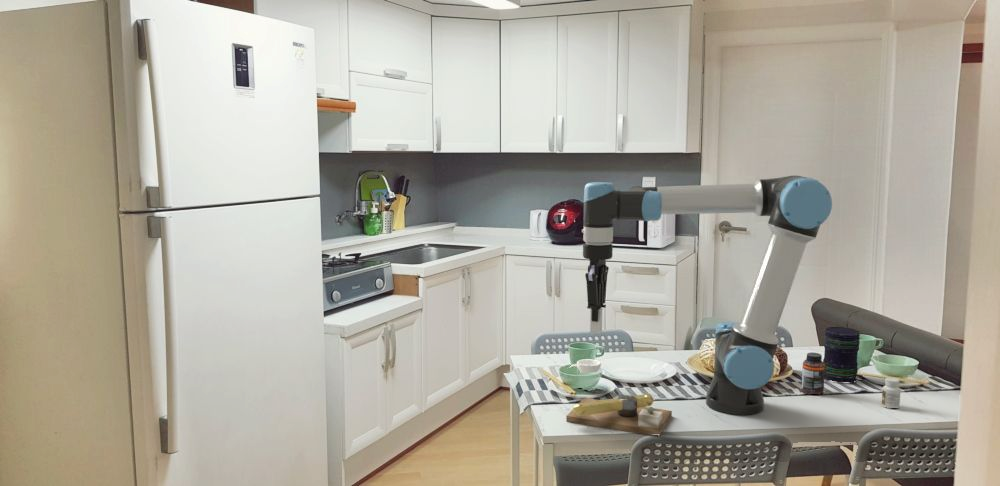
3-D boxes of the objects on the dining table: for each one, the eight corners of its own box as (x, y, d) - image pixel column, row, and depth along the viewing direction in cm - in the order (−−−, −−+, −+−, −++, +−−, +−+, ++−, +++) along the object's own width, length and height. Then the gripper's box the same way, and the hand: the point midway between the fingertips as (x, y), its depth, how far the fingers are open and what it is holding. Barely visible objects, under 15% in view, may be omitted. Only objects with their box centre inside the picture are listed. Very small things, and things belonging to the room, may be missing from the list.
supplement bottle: (811, 387, 227) (814, 350, 226) (828, 393, 222) (830, 355, 220) (796, 390, 225) (798, 352, 223) (812, 396, 220) (815, 358, 218)
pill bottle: (882, 402, 215) (884, 375, 214) (899, 405, 213) (902, 378, 212) (880, 407, 211) (882, 380, 210) (898, 410, 209) (900, 383, 208)
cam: (646, 406, 206) (647, 391, 205) (657, 412, 201) (657, 396, 200) (569, 417, 197) (569, 401, 197) (578, 424, 193) (578, 408, 192)
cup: (600, 393, 221) (600, 366, 220) (565, 391, 223) (565, 364, 221) (600, 385, 228) (601, 359, 227) (566, 384, 229) (567, 357, 228)
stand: (671, 416, 204) (672, 394, 203) (659, 436, 190) (659, 412, 189) (584, 403, 213) (584, 381, 212) (566, 421, 200) (566, 398, 199)
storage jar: (831, 371, 243) (834, 325, 241) (862, 379, 235) (866, 331, 233) (815, 377, 237) (818, 330, 235) (846, 385, 229) (850, 336, 227)
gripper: (591, 238, 205) (589, 325, 209) (575, 245, 194) (574, 337, 197) (618, 240, 202) (616, 328, 206) (604, 247, 191) (602, 340, 194)
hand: (596, 332), depth 201 cm, fingers closed
